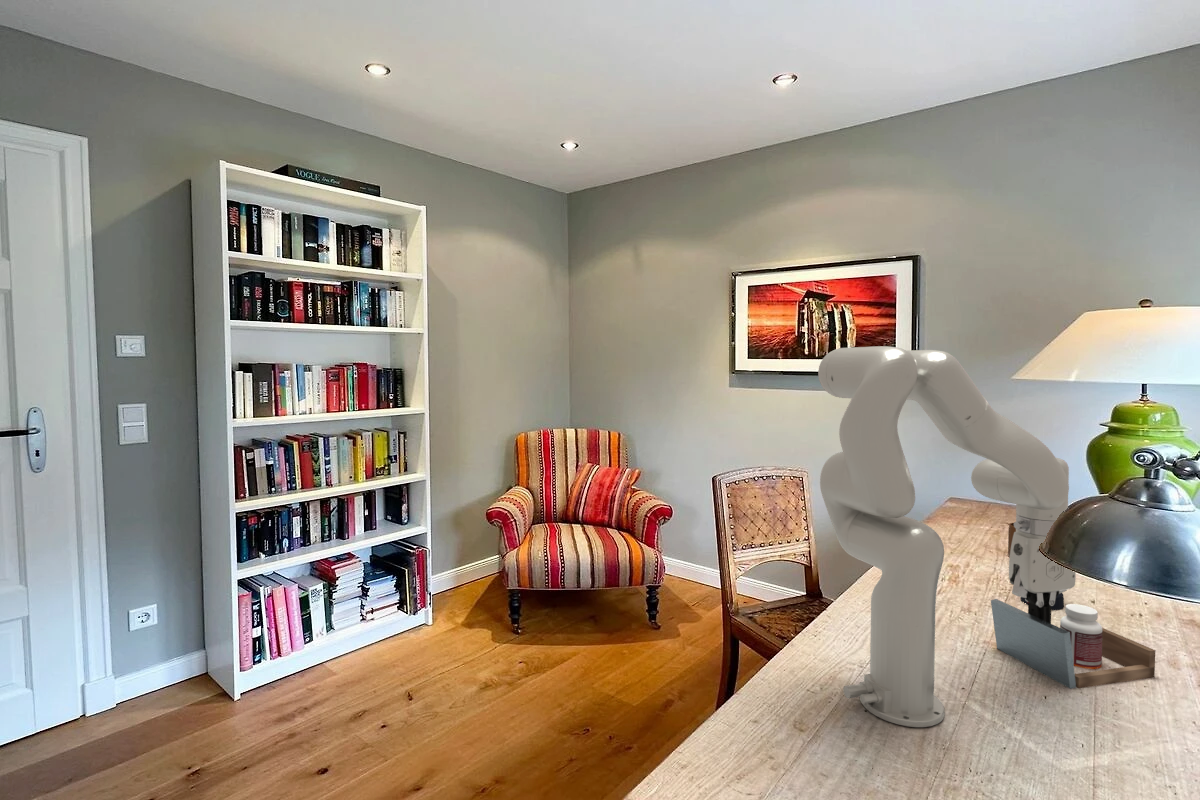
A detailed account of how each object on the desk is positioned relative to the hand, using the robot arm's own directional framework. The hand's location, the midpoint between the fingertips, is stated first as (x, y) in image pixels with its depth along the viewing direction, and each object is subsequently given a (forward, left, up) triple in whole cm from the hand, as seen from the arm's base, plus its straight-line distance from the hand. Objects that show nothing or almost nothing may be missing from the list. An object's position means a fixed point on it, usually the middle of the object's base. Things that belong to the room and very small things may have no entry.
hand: (1039, 624), depth 112 cm
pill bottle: (+9, 0, -9) cm, 13 cm away
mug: (+54, +52, -9) cm, 75 cm away
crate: (+8, 0, -9) cm, 12 cm away
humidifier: (+29, +26, -9) cm, 40 cm away
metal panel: (0, 0, -8) cm, 8 cm away
